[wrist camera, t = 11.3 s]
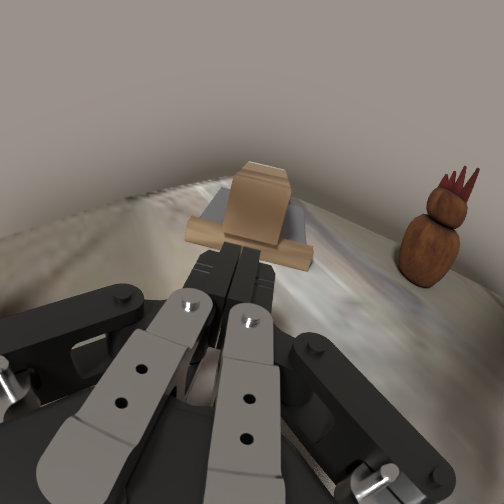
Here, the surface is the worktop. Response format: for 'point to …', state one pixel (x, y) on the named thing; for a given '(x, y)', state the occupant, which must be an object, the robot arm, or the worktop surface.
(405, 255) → the wooden figurine
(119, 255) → the worktop surface
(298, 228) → the rubber mat
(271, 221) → the wooden block
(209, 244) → the ledge
